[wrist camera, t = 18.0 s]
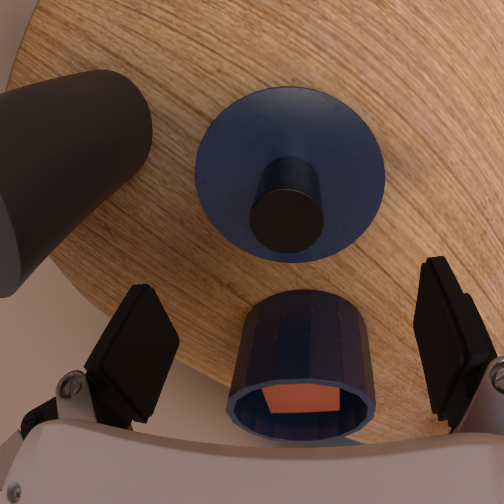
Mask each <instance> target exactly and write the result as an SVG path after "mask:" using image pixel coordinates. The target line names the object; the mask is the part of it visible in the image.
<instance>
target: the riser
mask: <svg viewBox="0 0 504 504" xmlns="http://www.w3.org/2000/svg"><path fill="white" fill-rule="evenodd" d="M151 140H152V122H151V116H150V112H149V109H148V106H147V103H146V101H145V99H144V97H143V95H142V94H141V93H140V91H139V90H138V88H137V87H136V86H135V85H134V84H133V83H132V82H131V81H129V80H128V79H127V78H126V77H124V76H122V75H120V74H118V73H116V72H113V71H109V70H92V71H87V72H82V73H77V74H72V75H67V76H63V77H58V78H54V79H50V80H46V81H42V82H38V83H35V84H31V85H27V86H24V87H21V88H17V89H14V90H11V91H8V92H5V93H2V94H0V298H6V297H9V296H11V295H13V294H14V293H15V292H16V291H17V290H18V288H19V287H20V286H21V285H22V284H23V283H24V282H25V280H26V279H27V278H28V277H29V276H30V275H31V274H32V273H33V272H34V270H35V269H36V268H37V267H38V266H39V265H40V264H41V263H42V262H43V261H44V259H45V258H46V257H47V256H48V255H49V254H50V253H51V252H52V251H53V250H54V249H55V248H56V247H57V246H58V245H59V244H60V243H61V242H62V241H63V240H64V239H65V238H66V237H67V236H68V235H69V234H70V233H71V232H72V231H73V230H74V229H75V228H76V227H77V226H78V225H79V224H80V223H81V222H82V221H83V220H84V219H85V218H86V217H87V216H88V215H90V214H91V213H92V212H93V211H94V210H95V209H96V208H97V207H98V206H99V205H100V204H102V203H103V202H104V201H105V200H106V199H107V198H108V197H109V196H110V195H112V194H113V193H114V192H115V191H116V190H117V189H118V188H120V187H121V186H122V185H123V184H124V183H125V182H127V181H128V180H129V179H130V178H131V177H133V176H134V175H135V174H136V173H137V172H138V171H139V169H140V168H141V167H142V165H143V164H144V162H145V160H146V158H147V155H148V153H149V150H150V146H151Z"/></svg>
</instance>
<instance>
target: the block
mask: <svg viewBox="0 0 504 504" xmlns="http://www.w3.org/2000/svg"><path fill="white" fill-rule="evenodd" d="M262 391H263V394H264V396H265V399H266V401H267V404H268V407H269V409H270V412H271V413H298V412H321V411H337V410H340V388H338V387H331V386H324V385H317V384H310V383H307V384H284V385H274V386H270V387H266V388H262Z"/></svg>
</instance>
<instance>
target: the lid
mask: <svg viewBox="0 0 504 504" xmlns="http://www.w3.org/2000/svg"><path fill="white" fill-rule="evenodd" d="M195 178H196V187H197V191H198V195H199V199H200V201H201V204H202V206H203V209H204V211H205V212H206V214H207V216H208V218H209V219H210V221H211V222H212V223H213V225H214V226H215V227H216V229H217V230H218V231H219V232H220V233H221V234H222V235H223V236H224V237H225V238H227V239H228V240H229V241H230V242H231V243H233V244H234V245H236V246H237V247H239V248H240V249H242V250H244V251H246V252H248V253H250V254H252V255H255V256H257V257H260V258H263V259H267V260H271V261H277V262H285V263H301V262H309V261H315V260H318V259H322V258H325V257H328V256H330V255H333V254H335V253H337V252H339V251H341V250H343V249H344V248H346V247H347V246H349V245H350V244H352V243H353V242H354V241H355V240H356V239H357V238H359V237H360V236H361V235H362V234H363V232H364V231H365V230H366V229H367V228H368V227H369V225H370V224H371V222H372V220H373V219H374V217H375V215H376V213H377V211H378V209H379V207H380V204H381V200H382V197H383V192H384V186H385V169H384V162H383V158H382V154H381V151H380V148H379V145H378V143H377V141H376V139H375V137H374V135H373V134H372V132H371V130H370V129H369V127H368V126H367V125H366V123H365V122H364V121H363V120H362V119H361V118H360V116H358V115H357V114H356V113H355V112H354V111H353V110H352V109H351V108H349V107H348V106H347V105H345V104H344V103H342V102H341V101H339V100H338V99H336V98H334V97H332V96H330V95H327V94H325V93H322V92H319V91H316V90H313V89H308V88H302V87H289V86H283V87H274V88H268V89H264V90H260V91H257V92H254V93H252V94H249V95H247V96H245V97H243V98H241V99H239V100H238V101H236V102H234V103H233V104H232V105H230V106H229V107H228V108H226V109H225V110H224V111H223V112H222V113H221V114H220V115H219V116H218V117H217V118H216V119H215V120H214V121H213V123H212V124H211V126H210V127H209V129H208V130H207V132H206V134H205V136H204V138H203V140H202V142H201V144H200V147H199V151H198V154H197V160H196V169H195Z"/></svg>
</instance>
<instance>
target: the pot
mask: <svg viewBox="0 0 504 504" xmlns="http://www.w3.org/2000/svg"><path fill="white" fill-rule="evenodd" d="M307 383H310V384H317V385H324V386H331V387H338V388H340V410H337V411H321V412H298V413H271V412H270V409H269V407H268V404H267V401H266V399H265V396H264V394H263V391H262V388H266V387H270V386H274V385H284V384H307ZM375 408H376V400H375V390H374V381H373V373H372V365H371V357H370V350H369V343H368V336H367V329H366V325H365V324H364V320H363V318H362V316H361V314H360V313H359V311H358V310H357V309H356V308H355V307H354V306H353V305H352V304H350V303H349V302H348V301H346V300H344V299H342V298H341V297H338V296H336V295H333V294H330V293H326V292H321V291H315V290H296V291H289V292H284V293H280V294H277V295H274V296H272V297H270V298H268V299H266V300H264V301H262V302H261V303H259V304H258V305H257V306H256V307H255V308H253V310H252V311H251V312H250V313H249V315H248V316H247V318H246V320H245V324H244V328H243V332H242V337H241V342H240V346H239V351H238V356H237V360H236V365H235V369H234V374H233V379H232V383H231V388H230V393H229V397H228V403H227V406H226V412H227V414H228V415H229V417H230V418H231V420H232V422H233V423H234V424H236V425H238V426H239V427H241V428H242V429H244V430H245V431H247V432H249V433H251V434H254V435H257V436H260V437H263V438H266V439H269V440H274V441H282V442H289V443H316V442H317V443H318V442H323V441H329V440H334V439H338V438H343V437H345V436H347V435H350V434H352V433H354V432H356V431H359V430H361V429H362V428H363V427H364V426H365V425H366V424H367V423H368V422H370V421H371V420H372V419H373V417H374V413H375Z"/></svg>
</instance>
